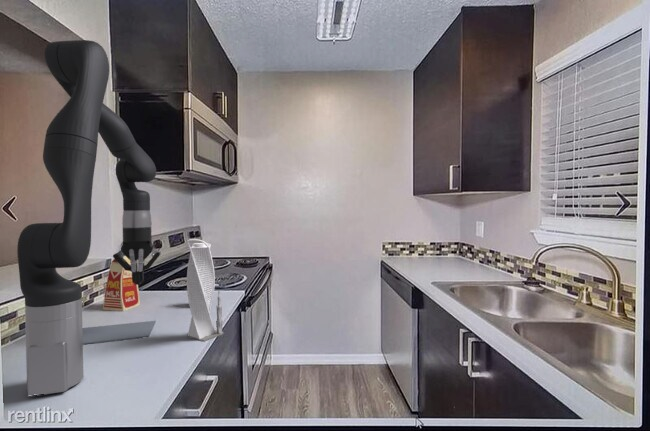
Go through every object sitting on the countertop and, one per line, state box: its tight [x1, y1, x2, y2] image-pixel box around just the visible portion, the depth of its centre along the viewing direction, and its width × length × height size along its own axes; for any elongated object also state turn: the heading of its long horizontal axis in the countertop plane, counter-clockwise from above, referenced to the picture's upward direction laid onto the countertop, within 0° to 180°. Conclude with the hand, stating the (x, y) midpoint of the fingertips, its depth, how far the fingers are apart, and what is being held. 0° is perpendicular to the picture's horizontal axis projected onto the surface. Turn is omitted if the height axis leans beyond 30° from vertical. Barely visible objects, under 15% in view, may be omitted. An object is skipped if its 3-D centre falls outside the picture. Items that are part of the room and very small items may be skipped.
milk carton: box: [102, 255, 141, 312], centre depth 128 cm, size 9×9×20 cm
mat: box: [82, 320, 157, 346], centre depth 100 cm, size 14×25×1 cm, turn 109°
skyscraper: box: [186, 238, 225, 343], centre depth 98 cm, size 8×8×28 cm
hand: (138, 283), depth 103 cm, fingers closed
